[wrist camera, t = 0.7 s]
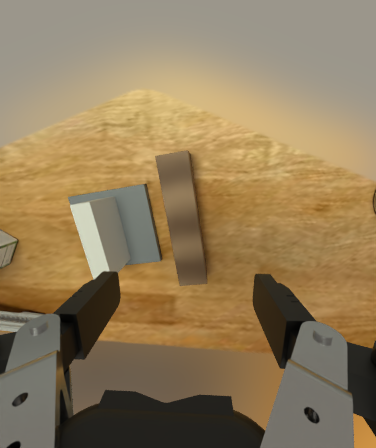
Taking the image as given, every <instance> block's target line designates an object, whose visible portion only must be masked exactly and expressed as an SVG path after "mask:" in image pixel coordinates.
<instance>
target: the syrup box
mask: <svg viewBox="0 0 376 448" xmlns="http://www.w3.org/2000/svg"><path fill="white" fill-rule="evenodd" d="M17 241H18V240H17V239H16V238H14V237H12V236H11V235H9V234H7V233H5V232H4V231H2V230H0V269H1V268H3V267H5V266H7V265H9V264H10V263H11V260H12V256H13V253H14V250H15V247H16V244H17Z"/></svg>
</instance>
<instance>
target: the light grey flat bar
mask: <svg viewBox="0 0 376 448" xmlns="http://www.w3.org/2000/svg"><path fill="white" fill-rule="evenodd" d="M42 315H44V314H39V313H30V312H21V313H16V312H8V311H0V330H3V331H13V332H17V331H18V330H19V329H20V328H21V327H22V326H23V325H24V324H26V323H27V322H29V321H30V320H32V319H34V318H36V317H39V316H42ZM5 320H6V321H5ZM13 321H15V322H13ZM23 322H24V323H23Z"/></svg>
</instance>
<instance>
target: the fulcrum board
mask: <svg viewBox="0 0 376 448" xmlns="http://www.w3.org/2000/svg"><path fill="white" fill-rule="evenodd" d="M68 199H69V202H70V207H71V211H72V214H73V217H74V220H75V223H76V226H77V229H78V232H79V235H80V239H81V242H82V245H83V248H84V251H85V254H86V257H87V260H88V264H89V267H90V270H91V273H92V276H93V279H95V278H96V277H97V276H98V275H100V274H101V273H102V272H103V271H116V272H117V273H118V272H119V271H120V270H121V269H122V268H123V267H124V266H125V265H131V264H140V263H149V262H158V261H161V259H162V256H161V251H160V247H159V242H158V237H157V233H156V228H155V223H154V219H153V214H152V209H151V204H150V200H149V195H148V190H147V186H146V184H143V185H137V186H131V187H125V188H119V189H113V190H107V191H101V192H95V193H89V194H84V195H78V196H72V197H68Z"/></svg>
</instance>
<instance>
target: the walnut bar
mask: <svg viewBox="0 0 376 448" xmlns="http://www.w3.org/2000/svg"><path fill="white" fill-rule="evenodd" d="M155 157H156V163H157V168H158V173H159V179H160V184H161V189H162V194H163V200H164V205H165V210H166V216H167V221H168V226H169V231H170V237H171V242H172V247H173V253H174V258H175V263H176V268H177V274H178V279H179V284H180V286H185V285H197V284H207V267H206V260H205V253H204V246H203V239H202V233H201V226H200V219H199V212H198V205H197V198H196V191H195V184H194V177H193V170H192V164H191V157H190V153H189V152H188V150H187V151H181V152H176V153H170V154H165V155H159V156H155Z"/></svg>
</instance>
